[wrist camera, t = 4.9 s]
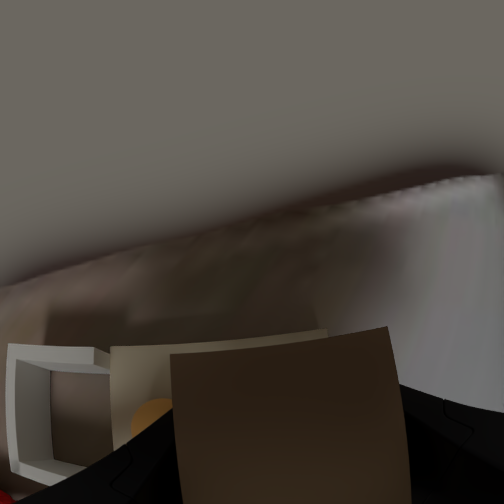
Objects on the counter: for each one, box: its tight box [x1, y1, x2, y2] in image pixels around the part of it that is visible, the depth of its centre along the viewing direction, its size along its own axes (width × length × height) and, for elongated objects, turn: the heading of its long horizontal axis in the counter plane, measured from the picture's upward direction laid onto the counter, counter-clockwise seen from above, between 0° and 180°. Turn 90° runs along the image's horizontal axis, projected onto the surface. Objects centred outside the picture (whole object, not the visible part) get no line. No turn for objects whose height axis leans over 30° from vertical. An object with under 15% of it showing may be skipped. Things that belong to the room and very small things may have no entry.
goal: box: [6, 343, 110, 486], centre depth 14 cm, size 8×9×4 cm
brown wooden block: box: [170, 326, 412, 504], centre depth 10 cm, size 4×4×11 cm
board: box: [110, 328, 328, 451], centre depth 15 cm, size 10×13×2 cm
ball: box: [131, 398, 173, 438], centre depth 13 cm, size 4×4×4 cm
